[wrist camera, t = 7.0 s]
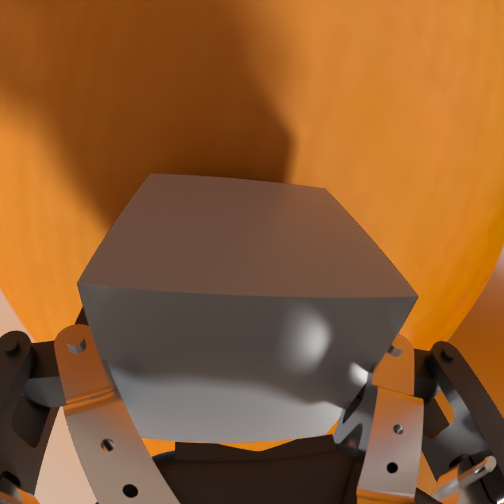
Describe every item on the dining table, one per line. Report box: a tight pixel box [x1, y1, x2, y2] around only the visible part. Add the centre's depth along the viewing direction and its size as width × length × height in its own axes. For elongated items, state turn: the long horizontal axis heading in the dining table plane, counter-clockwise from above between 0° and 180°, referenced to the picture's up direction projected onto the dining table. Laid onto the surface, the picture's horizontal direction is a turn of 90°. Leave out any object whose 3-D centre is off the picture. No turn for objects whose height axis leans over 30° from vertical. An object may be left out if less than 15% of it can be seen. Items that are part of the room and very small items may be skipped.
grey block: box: [77, 173, 419, 443], centre depth 9 cm, size 7×7×7 cm
